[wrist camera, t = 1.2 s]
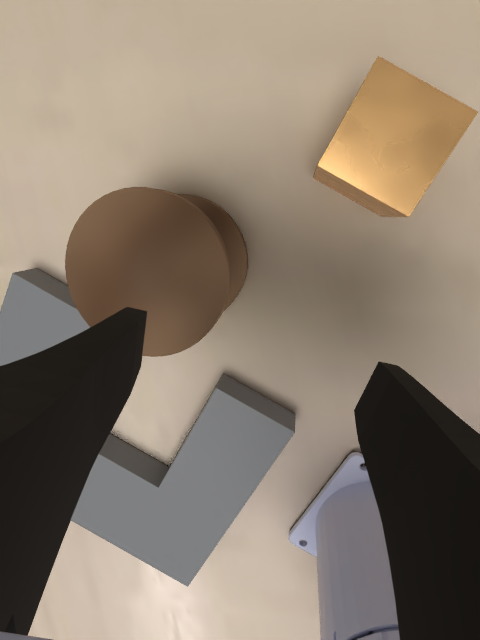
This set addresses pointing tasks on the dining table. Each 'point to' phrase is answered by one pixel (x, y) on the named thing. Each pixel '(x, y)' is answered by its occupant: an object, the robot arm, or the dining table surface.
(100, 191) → the dining table surface
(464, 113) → the block
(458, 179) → the dining table surface
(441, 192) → the dining table surface
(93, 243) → the bobbin
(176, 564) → the notched board
